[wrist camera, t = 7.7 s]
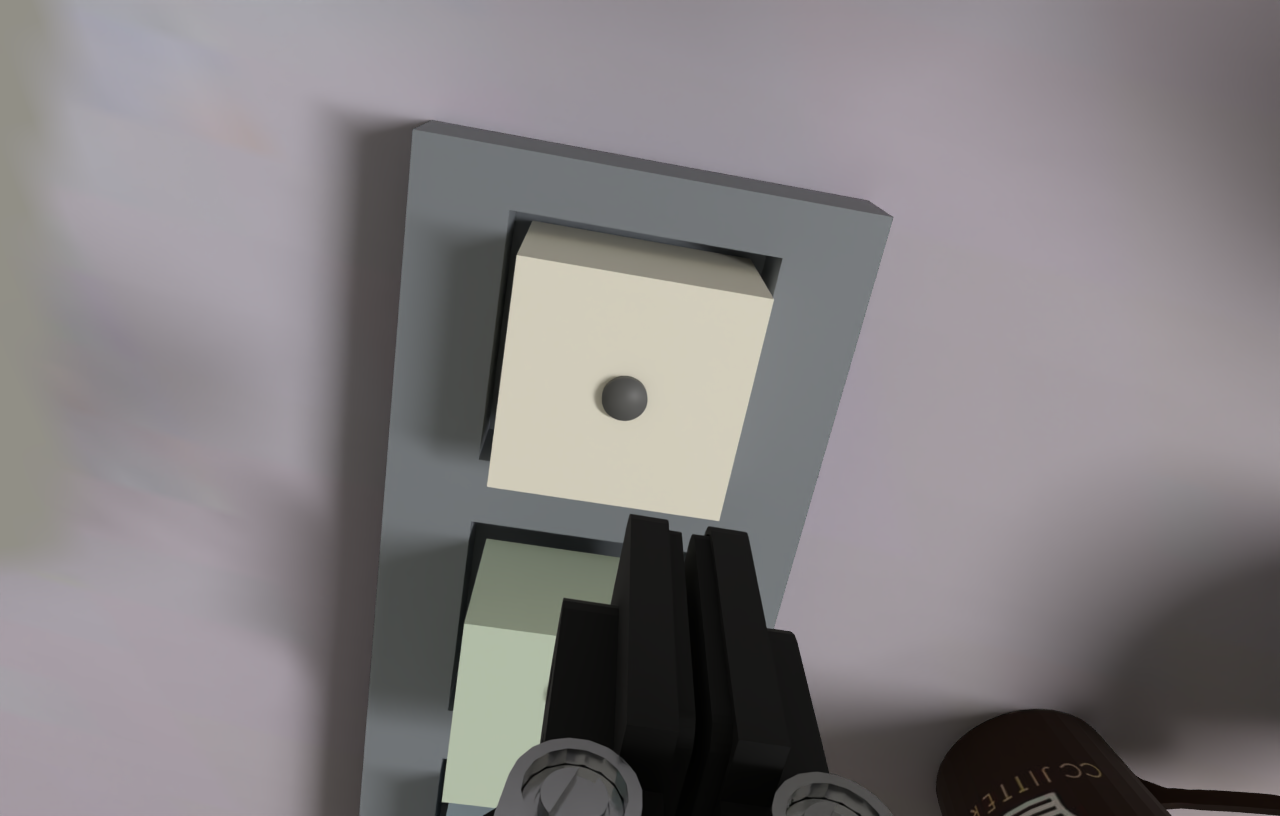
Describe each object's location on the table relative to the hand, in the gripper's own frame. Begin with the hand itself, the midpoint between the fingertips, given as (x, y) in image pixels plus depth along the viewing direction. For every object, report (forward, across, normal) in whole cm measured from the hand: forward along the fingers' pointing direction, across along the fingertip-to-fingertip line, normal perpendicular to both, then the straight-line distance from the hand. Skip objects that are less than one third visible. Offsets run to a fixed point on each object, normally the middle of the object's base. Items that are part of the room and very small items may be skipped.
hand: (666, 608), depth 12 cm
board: (+14, +1, +10) cm, 17 cm away
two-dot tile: (+11, +1, +10) cm, 15 cm away
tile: (+13, +1, +1) cm, 13 cm away
